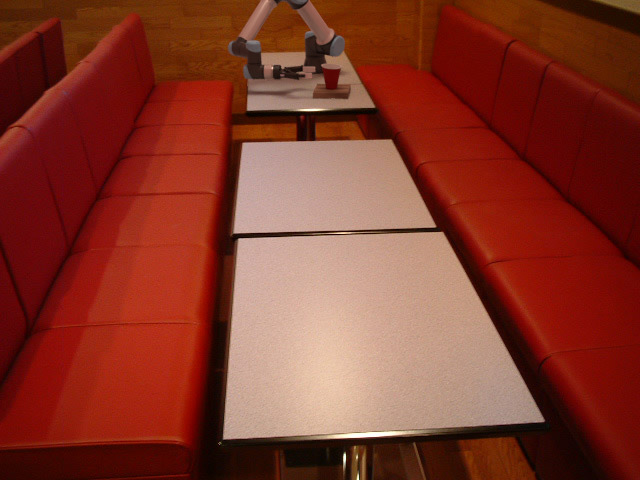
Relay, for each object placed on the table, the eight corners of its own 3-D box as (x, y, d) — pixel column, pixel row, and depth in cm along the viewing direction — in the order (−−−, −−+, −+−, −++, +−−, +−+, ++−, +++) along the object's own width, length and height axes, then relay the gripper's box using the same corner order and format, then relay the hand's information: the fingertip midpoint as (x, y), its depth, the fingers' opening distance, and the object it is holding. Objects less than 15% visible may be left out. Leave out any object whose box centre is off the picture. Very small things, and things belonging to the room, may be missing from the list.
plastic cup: (342, 90, 328) (342, 67, 322) (321, 91, 328) (321, 67, 322) (342, 85, 337) (342, 62, 332) (321, 85, 338) (321, 62, 332)
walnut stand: (317, 89, 343) (317, 83, 342) (350, 89, 341) (350, 84, 340) (313, 98, 327) (312, 92, 326) (347, 98, 325) (347, 93, 324)
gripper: (277, 73, 345) (316, 74, 343) (269, 85, 323) (310, 85, 321) (277, 59, 342) (316, 59, 339) (268, 70, 320) (310, 70, 317)
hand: (313, 72), depth 330 cm, fingers open, 13 cm apart
